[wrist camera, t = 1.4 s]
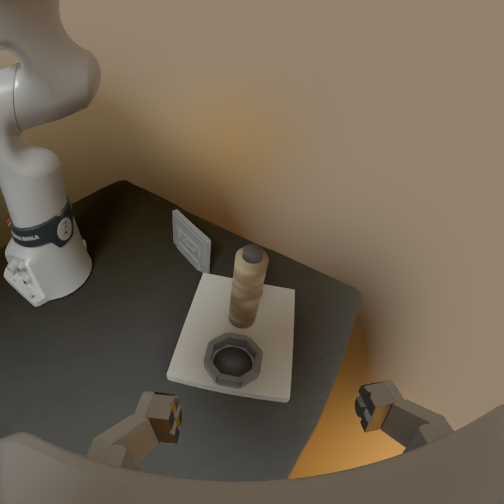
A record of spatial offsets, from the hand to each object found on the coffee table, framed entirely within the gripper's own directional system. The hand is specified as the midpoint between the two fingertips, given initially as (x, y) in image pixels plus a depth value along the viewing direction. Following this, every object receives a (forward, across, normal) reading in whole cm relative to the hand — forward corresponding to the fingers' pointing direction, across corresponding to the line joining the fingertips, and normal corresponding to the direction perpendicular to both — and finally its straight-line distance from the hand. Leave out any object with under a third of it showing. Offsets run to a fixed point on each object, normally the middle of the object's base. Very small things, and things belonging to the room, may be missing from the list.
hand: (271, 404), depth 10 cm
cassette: (+42, +11, +6) cm, 44 cm away
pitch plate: (+27, +2, +13) cm, 30 cm away
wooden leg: (+28, +2, +11) cm, 30 cm away
